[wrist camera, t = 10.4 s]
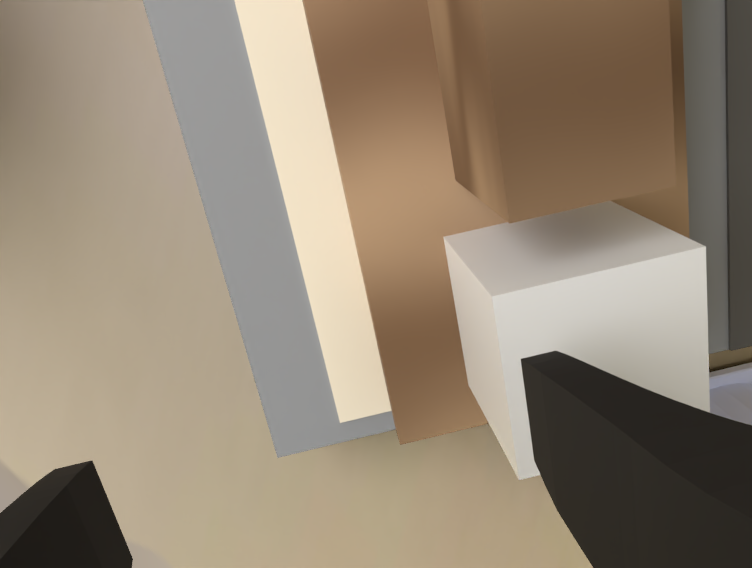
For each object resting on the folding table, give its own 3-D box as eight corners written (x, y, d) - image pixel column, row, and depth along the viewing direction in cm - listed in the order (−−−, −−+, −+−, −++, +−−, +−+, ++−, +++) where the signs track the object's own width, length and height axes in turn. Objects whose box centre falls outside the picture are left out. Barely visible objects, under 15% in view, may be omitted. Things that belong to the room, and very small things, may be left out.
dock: (708, 304, 23) (768, 341, 20) (279, 405, 22) (277, 459, 19) (692, -401, 16) (778, -497, 14) (81, -290, 16) (34, -365, 13)
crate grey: (618, 349, 17) (710, 432, 14) (468, 384, 17) (519, 480, 13) (607, 199, 16) (705, 246, 12) (443, 236, 16) (491, 296, 12)
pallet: (655, 342, 20) (801, 460, 14) (389, 406, 19) (431, 553, 14) (614, -395, 14) (841, -701, 8) (229, -324, 13) (186, -593, 8)
